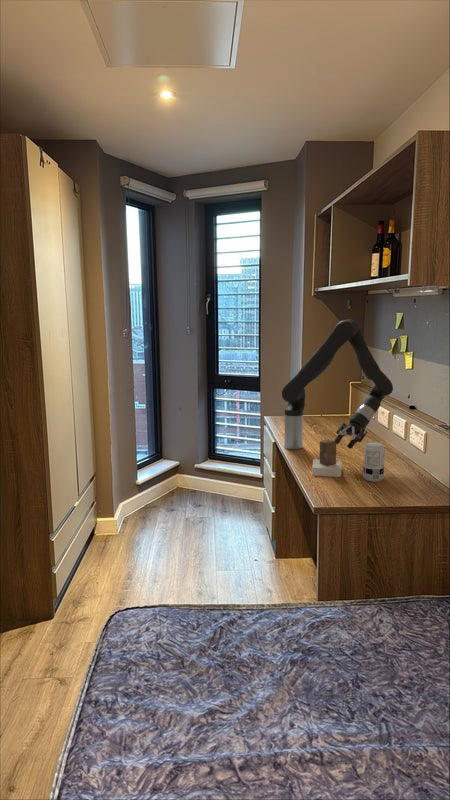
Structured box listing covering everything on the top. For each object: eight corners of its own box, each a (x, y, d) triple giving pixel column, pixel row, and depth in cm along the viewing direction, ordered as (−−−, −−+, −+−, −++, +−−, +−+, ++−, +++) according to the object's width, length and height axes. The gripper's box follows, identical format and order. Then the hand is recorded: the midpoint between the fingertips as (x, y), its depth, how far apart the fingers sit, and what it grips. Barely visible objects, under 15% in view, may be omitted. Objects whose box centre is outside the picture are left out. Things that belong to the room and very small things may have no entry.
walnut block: (319, 463, 220) (319, 441, 218) (328, 461, 222) (328, 439, 220) (327, 466, 215) (327, 443, 214) (336, 464, 218) (336, 441, 216)
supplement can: (358, 477, 211) (360, 442, 208) (375, 474, 214) (376, 440, 211) (370, 483, 204) (372, 447, 201) (387, 480, 206) (389, 445, 204)
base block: (313, 467, 226) (313, 459, 226) (340, 469, 224) (340, 460, 223) (312, 476, 215) (312, 467, 214) (341, 477, 212) (341, 468, 212)
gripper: (347, 409, 229) (326, 437, 226) (369, 414, 217) (348, 444, 213) (355, 419, 232) (336, 446, 229) (378, 425, 220) (357, 454, 217)
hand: (342, 445), depth 221 cm, fingers open, 8 cm apart
